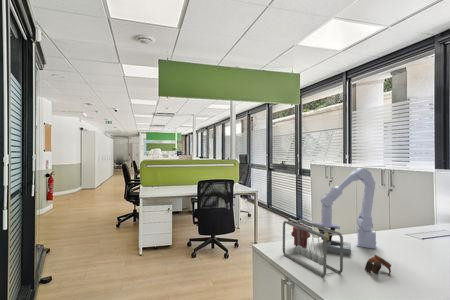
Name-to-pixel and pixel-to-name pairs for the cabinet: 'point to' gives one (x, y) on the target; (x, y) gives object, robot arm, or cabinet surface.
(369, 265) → the brown sunglasses
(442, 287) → the cabinet surface
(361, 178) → the robot arm
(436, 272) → the cabinet surface
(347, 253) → the block
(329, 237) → the bushing
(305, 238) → the mechanical component
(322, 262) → the newton's cradle
